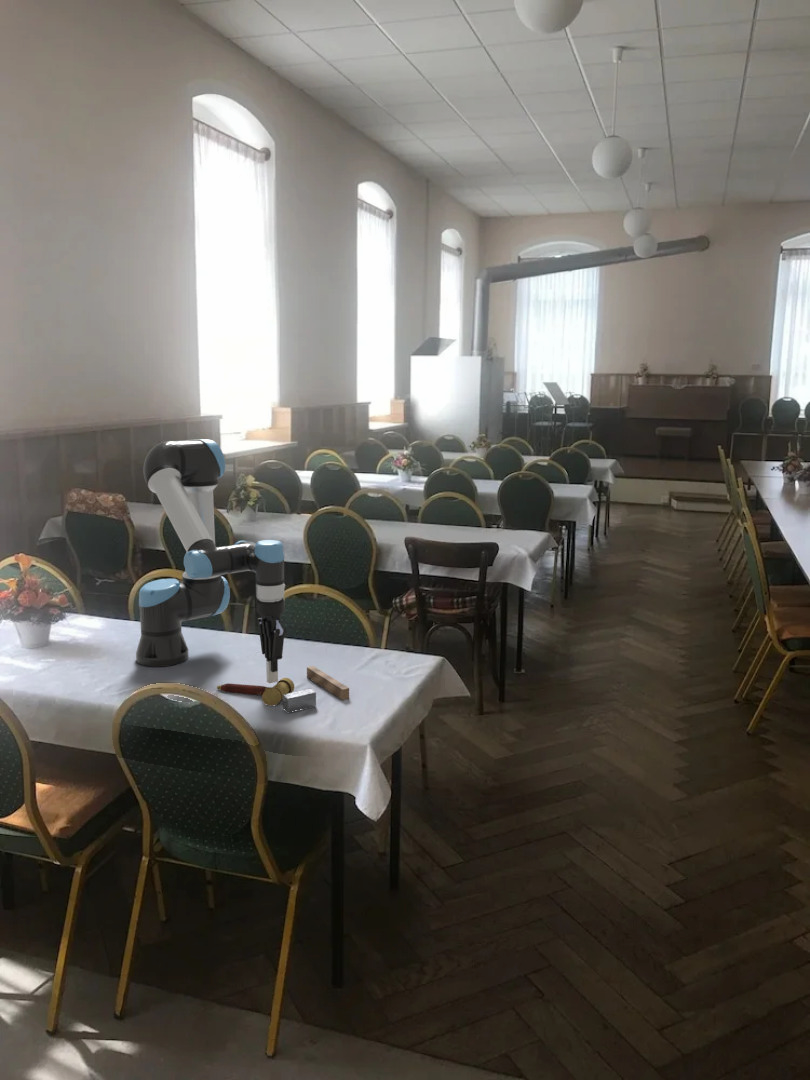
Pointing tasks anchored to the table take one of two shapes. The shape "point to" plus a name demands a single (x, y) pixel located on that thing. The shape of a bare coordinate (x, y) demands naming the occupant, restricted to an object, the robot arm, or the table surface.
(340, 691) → the walnut fence
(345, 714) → the table surface
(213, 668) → the table surface
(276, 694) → the gavel
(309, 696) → the block
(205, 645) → the table surface
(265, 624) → the robot arm
